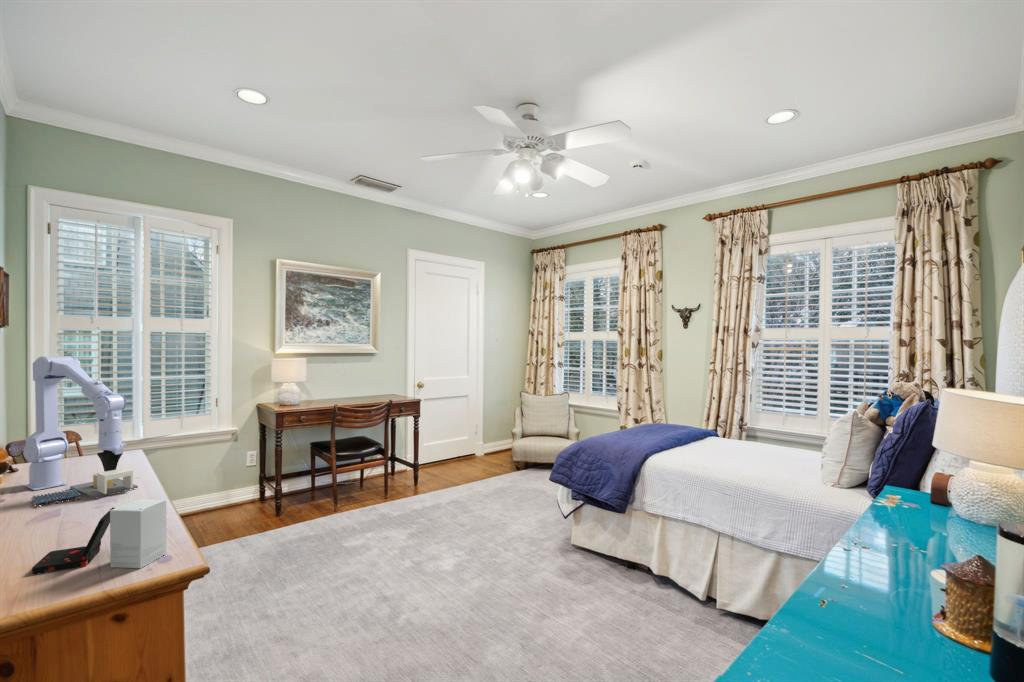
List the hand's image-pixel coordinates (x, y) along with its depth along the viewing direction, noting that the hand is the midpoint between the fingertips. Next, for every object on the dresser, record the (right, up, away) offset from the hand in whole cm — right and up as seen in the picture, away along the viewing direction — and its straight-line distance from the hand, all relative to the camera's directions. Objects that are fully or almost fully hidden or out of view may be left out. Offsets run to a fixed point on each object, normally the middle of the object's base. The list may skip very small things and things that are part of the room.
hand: (110, 473), depth 154 cm
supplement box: (+47, -6, -48) cm, 67 cm away
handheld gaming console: (+33, -6, -48) cm, 58 cm away
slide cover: (+3, -4, -2) cm, 6 cm away
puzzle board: (-4, -6, +3) cm, 8 cm away
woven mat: (-10, -7, -8) cm, 14 cm away
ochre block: (-5, -6, +3) cm, 8 cm away
